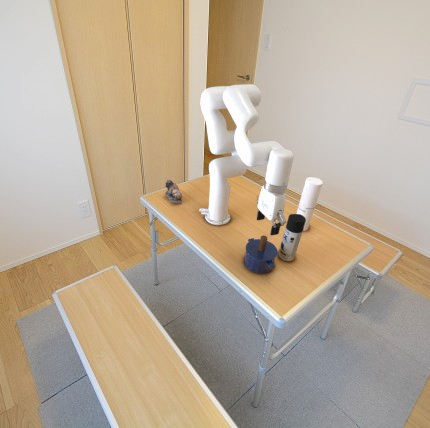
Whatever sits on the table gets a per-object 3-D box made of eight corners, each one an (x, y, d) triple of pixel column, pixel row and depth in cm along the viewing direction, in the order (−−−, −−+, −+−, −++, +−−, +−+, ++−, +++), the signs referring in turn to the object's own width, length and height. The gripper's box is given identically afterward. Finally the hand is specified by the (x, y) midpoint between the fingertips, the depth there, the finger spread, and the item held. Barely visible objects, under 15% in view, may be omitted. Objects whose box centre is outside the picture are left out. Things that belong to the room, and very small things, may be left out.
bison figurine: (185, 203, 148) (185, 186, 142) (173, 207, 144) (173, 190, 139) (173, 193, 156) (172, 177, 150) (162, 197, 152) (161, 180, 146)
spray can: (276, 250, 120) (286, 212, 109) (291, 250, 121) (302, 212, 110) (280, 261, 115) (291, 223, 104) (296, 261, 116) (309, 222, 104)
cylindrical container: (308, 231, 133) (323, 185, 119) (293, 229, 134) (306, 183, 120) (307, 223, 139) (321, 178, 125) (292, 220, 140) (305, 176, 126)
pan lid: (255, 265, 103) (258, 251, 99) (239, 244, 113) (241, 230, 109) (283, 258, 107) (287, 244, 103) (266, 238, 117) (269, 225, 113)
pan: (256, 281, 105) (259, 268, 101) (236, 252, 118) (238, 239, 114) (282, 274, 109) (286, 261, 105) (260, 246, 122) (263, 234, 118)
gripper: (253, 176, 99) (247, 215, 108) (280, 200, 86) (270, 243, 95) (271, 173, 101) (263, 212, 111) (300, 196, 88) (289, 238, 98)
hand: (267, 226), depth 103 cm, fingers open, 9 cm apart
